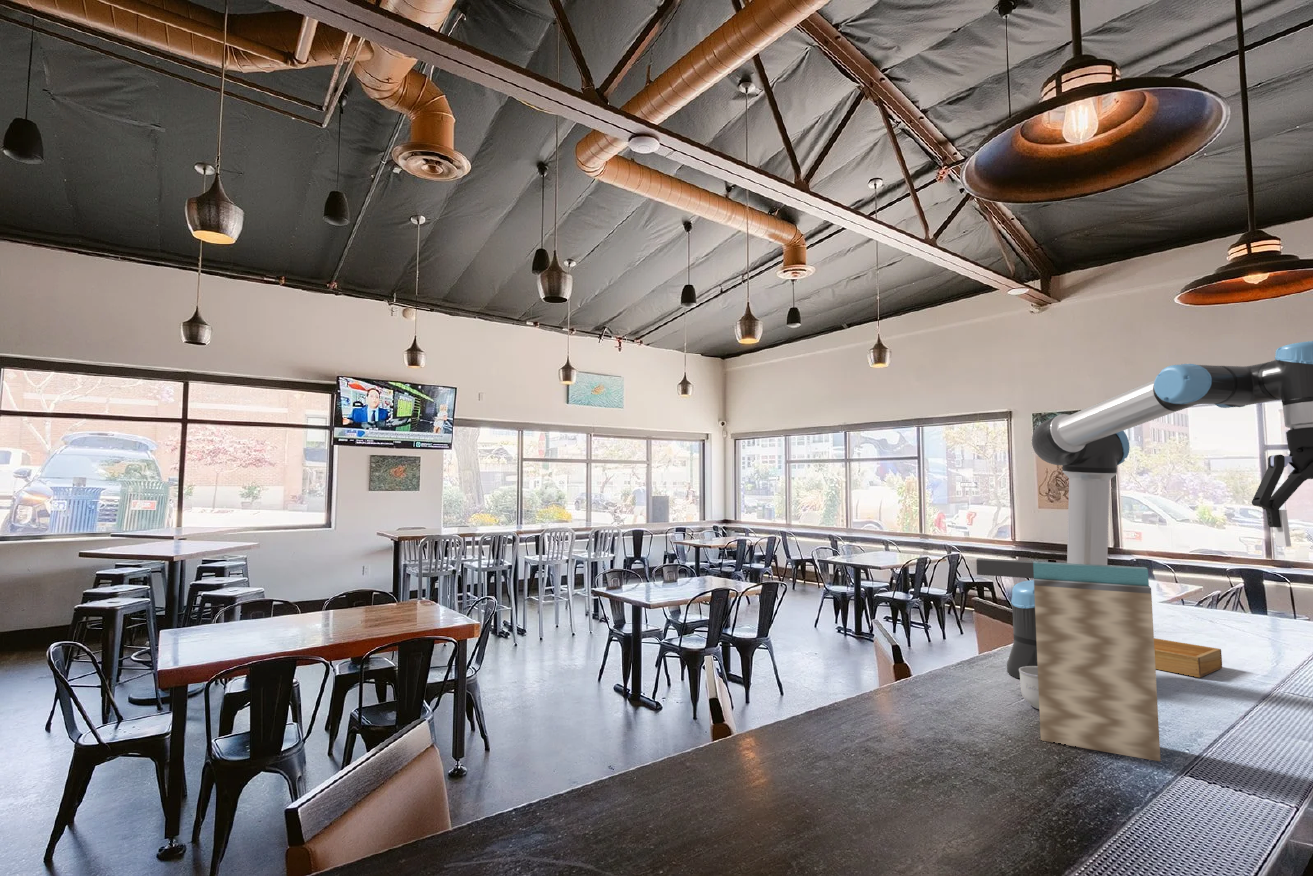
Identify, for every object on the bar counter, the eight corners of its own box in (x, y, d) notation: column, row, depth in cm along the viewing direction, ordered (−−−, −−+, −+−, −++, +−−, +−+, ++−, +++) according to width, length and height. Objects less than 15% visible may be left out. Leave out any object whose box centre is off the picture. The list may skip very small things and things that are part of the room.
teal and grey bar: (977, 574, 130) (976, 559, 130) (978, 572, 133) (977, 558, 133) (1148, 586, 116) (1147, 569, 116) (1146, 583, 118) (1145, 567, 118)
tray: (1066, 652, 184) (1065, 632, 184) (1091, 645, 192) (1091, 626, 192) (1199, 681, 158) (1198, 657, 158) (1222, 671, 166) (1221, 649, 166)
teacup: (1021, 711, 136) (1019, 673, 136) (1019, 696, 145) (1017, 660, 146) (1099, 723, 129) (1098, 683, 130) (1092, 706, 139) (1090, 669, 139)
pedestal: (1040, 740, 121) (1033, 580, 123) (1040, 726, 128) (1034, 574, 130) (1160, 761, 111) (1151, 588, 114) (1153, 745, 118) (1144, 581, 120)
